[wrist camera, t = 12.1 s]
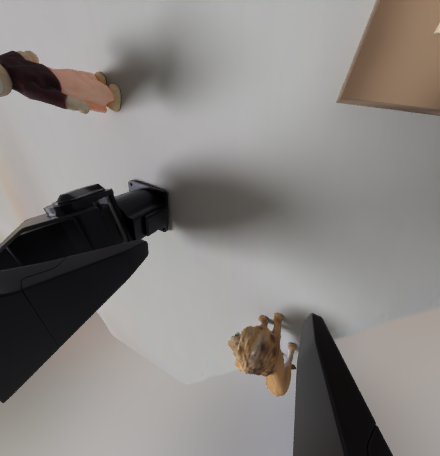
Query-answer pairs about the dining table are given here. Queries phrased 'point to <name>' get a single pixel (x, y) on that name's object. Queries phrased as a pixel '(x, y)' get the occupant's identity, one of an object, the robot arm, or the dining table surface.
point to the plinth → (398, 59)
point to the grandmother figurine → (56, 84)
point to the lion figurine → (264, 354)
